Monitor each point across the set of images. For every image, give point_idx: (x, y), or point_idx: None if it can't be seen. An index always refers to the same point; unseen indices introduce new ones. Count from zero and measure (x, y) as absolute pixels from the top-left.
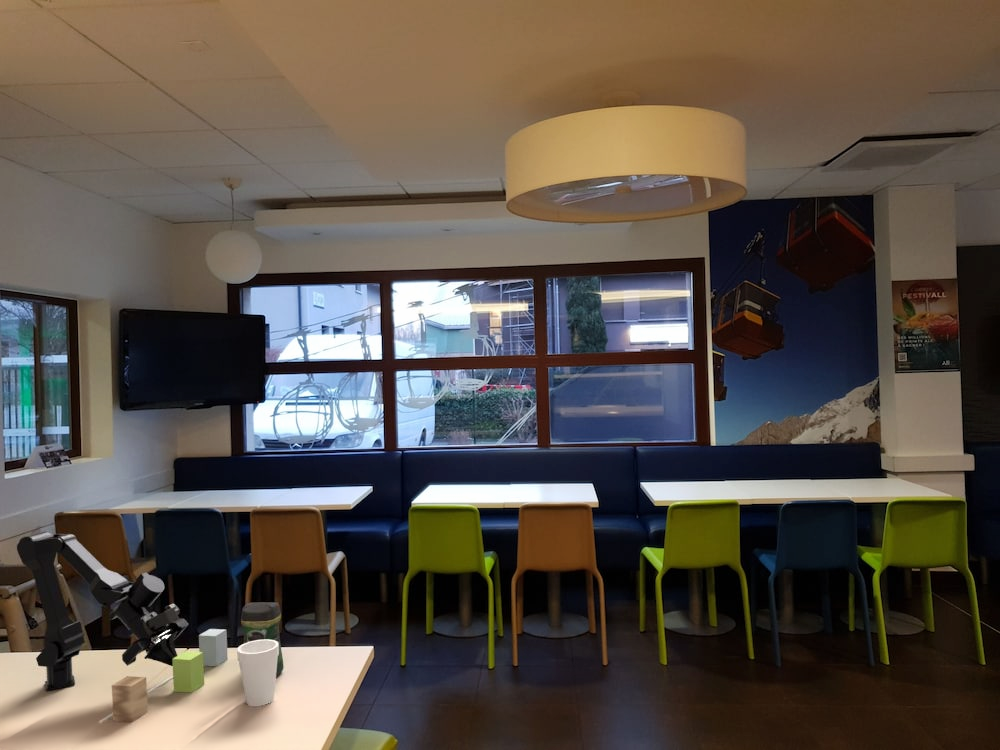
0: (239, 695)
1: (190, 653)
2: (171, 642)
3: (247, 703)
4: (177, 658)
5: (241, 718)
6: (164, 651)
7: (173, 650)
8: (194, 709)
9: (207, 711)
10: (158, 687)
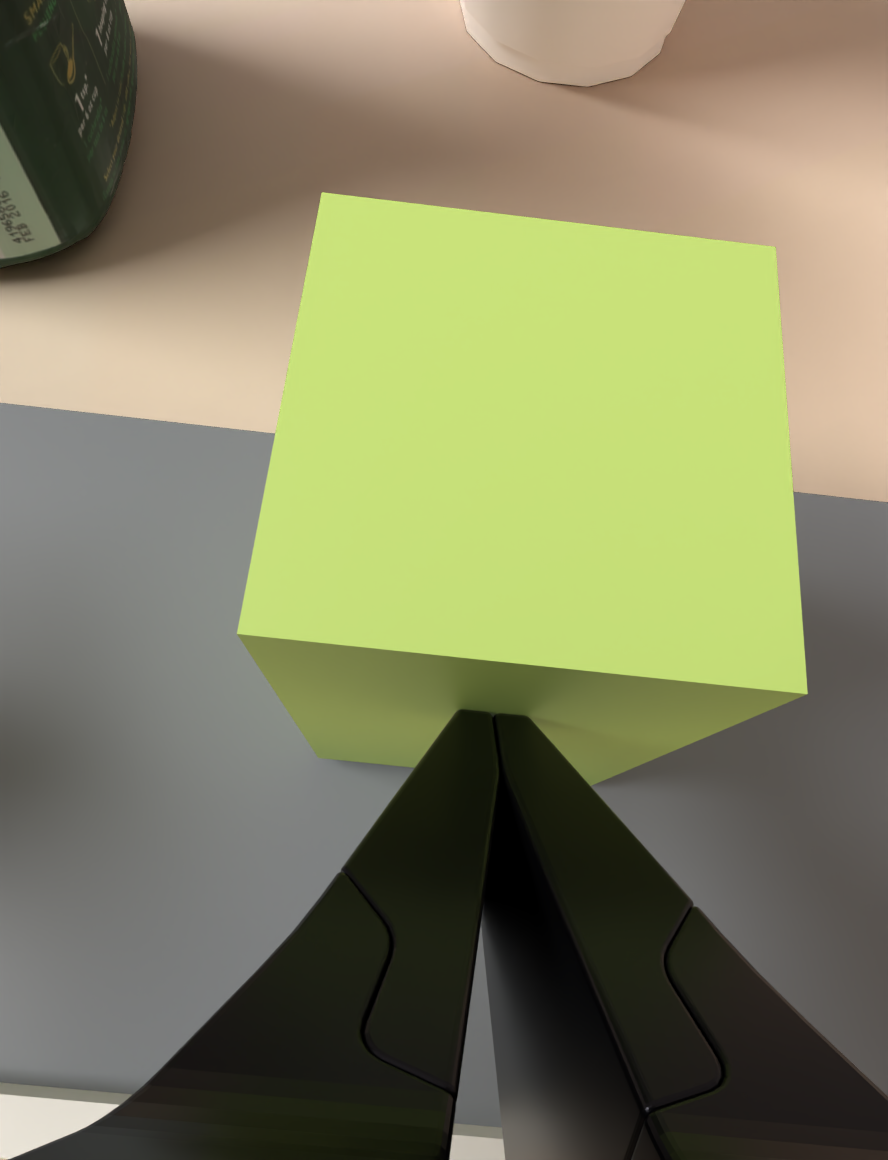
0: (478, 174)
1: (402, 418)
2: (271, 1151)
3: (645, 57)
4: (760, 567)
5: (861, 35)
6: (855, 1068)
7: (421, 912)
8: (810, 415)
9: (819, 293)
10: (481, 1131)
